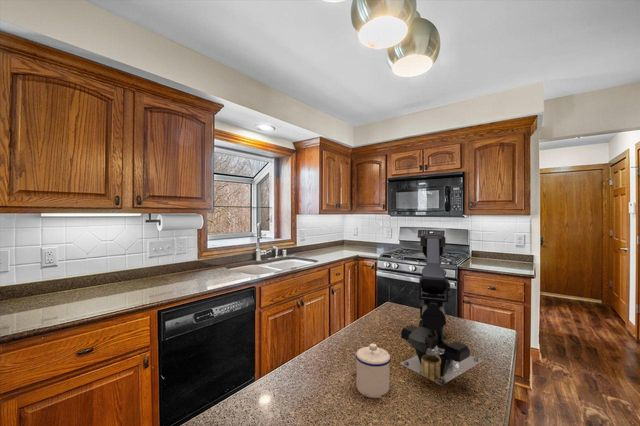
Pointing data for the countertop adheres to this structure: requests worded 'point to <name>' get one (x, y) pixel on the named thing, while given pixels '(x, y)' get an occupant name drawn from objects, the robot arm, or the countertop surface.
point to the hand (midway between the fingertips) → (432, 371)
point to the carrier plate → (452, 371)
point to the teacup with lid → (372, 371)
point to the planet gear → (431, 366)
